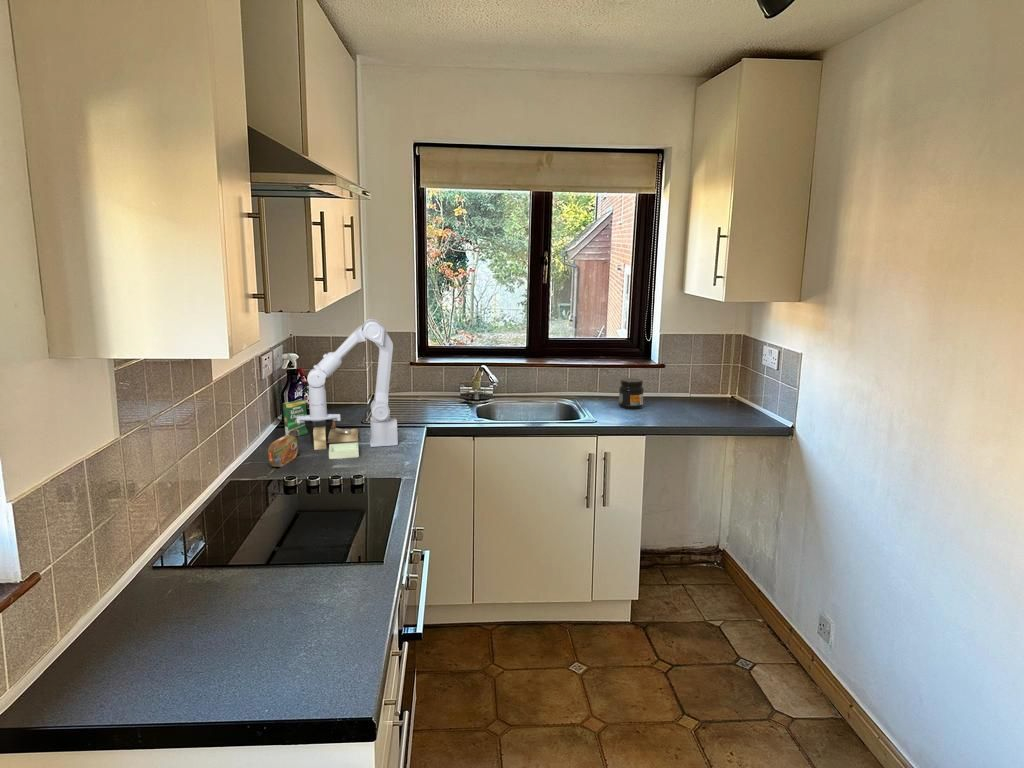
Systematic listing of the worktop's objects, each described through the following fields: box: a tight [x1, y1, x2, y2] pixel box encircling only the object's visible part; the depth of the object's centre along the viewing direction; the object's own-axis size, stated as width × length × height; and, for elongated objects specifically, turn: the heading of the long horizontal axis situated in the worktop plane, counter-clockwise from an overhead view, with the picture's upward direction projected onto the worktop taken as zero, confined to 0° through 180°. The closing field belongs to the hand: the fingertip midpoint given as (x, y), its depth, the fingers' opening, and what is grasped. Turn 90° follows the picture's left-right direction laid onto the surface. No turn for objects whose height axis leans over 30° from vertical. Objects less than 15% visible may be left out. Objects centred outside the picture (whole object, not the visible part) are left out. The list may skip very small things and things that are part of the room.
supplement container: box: [618, 377, 645, 410], centre depth 295 cm, size 10×10×12 cm
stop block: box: [313, 426, 328, 451], centre depth 237 cm, size 4×4×7 cm
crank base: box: [326, 428, 359, 444], centre depth 250 cm, size 12×11×2 cm
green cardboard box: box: [282, 398, 309, 438], centre depth 251 cm, size 8×3×13 cm, turn 133°
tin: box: [267, 434, 299, 468], centre depth 221 cm, size 15×3×8 cm, turn 168°
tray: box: [328, 442, 360, 460], centre depth 231 cm, size 10×10×2 cm
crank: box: [330, 420, 352, 435], centre depth 251 cm, size 11×3×5 cm, turn 59°
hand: (320, 441), depth 238 cm, fingers closed on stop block, 4 cm apart
